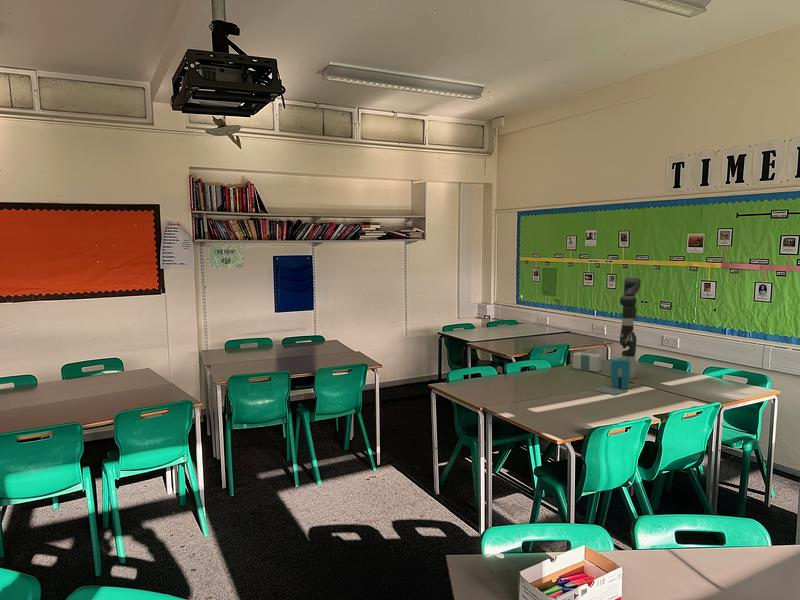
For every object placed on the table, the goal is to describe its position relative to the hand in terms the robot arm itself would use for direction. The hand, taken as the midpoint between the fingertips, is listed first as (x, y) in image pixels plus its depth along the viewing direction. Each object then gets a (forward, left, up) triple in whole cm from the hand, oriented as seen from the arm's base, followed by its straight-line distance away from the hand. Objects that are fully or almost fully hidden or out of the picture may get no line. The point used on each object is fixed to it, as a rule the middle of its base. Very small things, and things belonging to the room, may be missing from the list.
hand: (627, 347), depth 390 cm
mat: (+21, 0, -28) cm, 34 cm away
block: (+9, 0, -28) cm, 29 cm away
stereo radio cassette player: (-20, -47, -28) cm, 58 cm away
